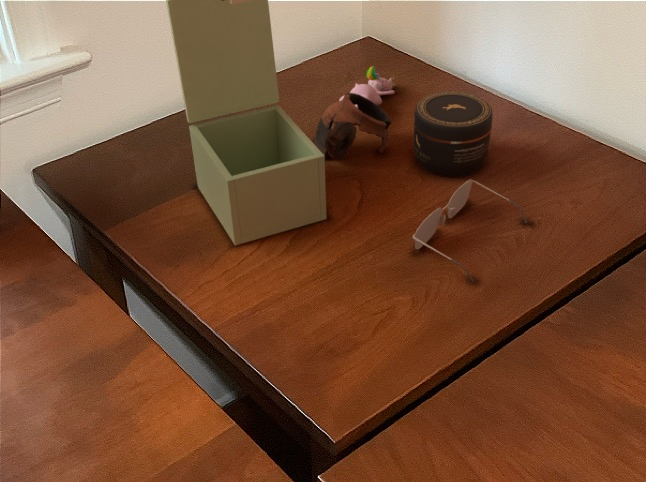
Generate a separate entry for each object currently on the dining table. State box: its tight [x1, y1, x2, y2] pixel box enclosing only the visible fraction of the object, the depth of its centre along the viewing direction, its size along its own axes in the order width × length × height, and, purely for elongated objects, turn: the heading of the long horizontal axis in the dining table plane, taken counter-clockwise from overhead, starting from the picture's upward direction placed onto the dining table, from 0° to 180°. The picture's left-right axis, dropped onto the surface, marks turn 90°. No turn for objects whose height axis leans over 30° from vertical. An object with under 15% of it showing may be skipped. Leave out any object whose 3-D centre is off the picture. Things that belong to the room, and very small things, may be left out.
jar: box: [412, 90, 494, 178], centre depth 106 cm, size 10×10×8 cm
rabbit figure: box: [338, 65, 396, 108], centre depth 118 cm, size 6×6×15 cm
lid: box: [165, 0, 280, 124], centre depth 97 cm, size 14×12×5 cm
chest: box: [188, 104, 327, 246], centre depth 98 cm, size 14×12×9 cm
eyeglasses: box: [412, 178, 528, 282], centre depth 93 cm, size 14×8×4 cm, turn 145°
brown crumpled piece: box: [312, 92, 392, 160], centre depth 108 cm, size 12×10×8 cm
